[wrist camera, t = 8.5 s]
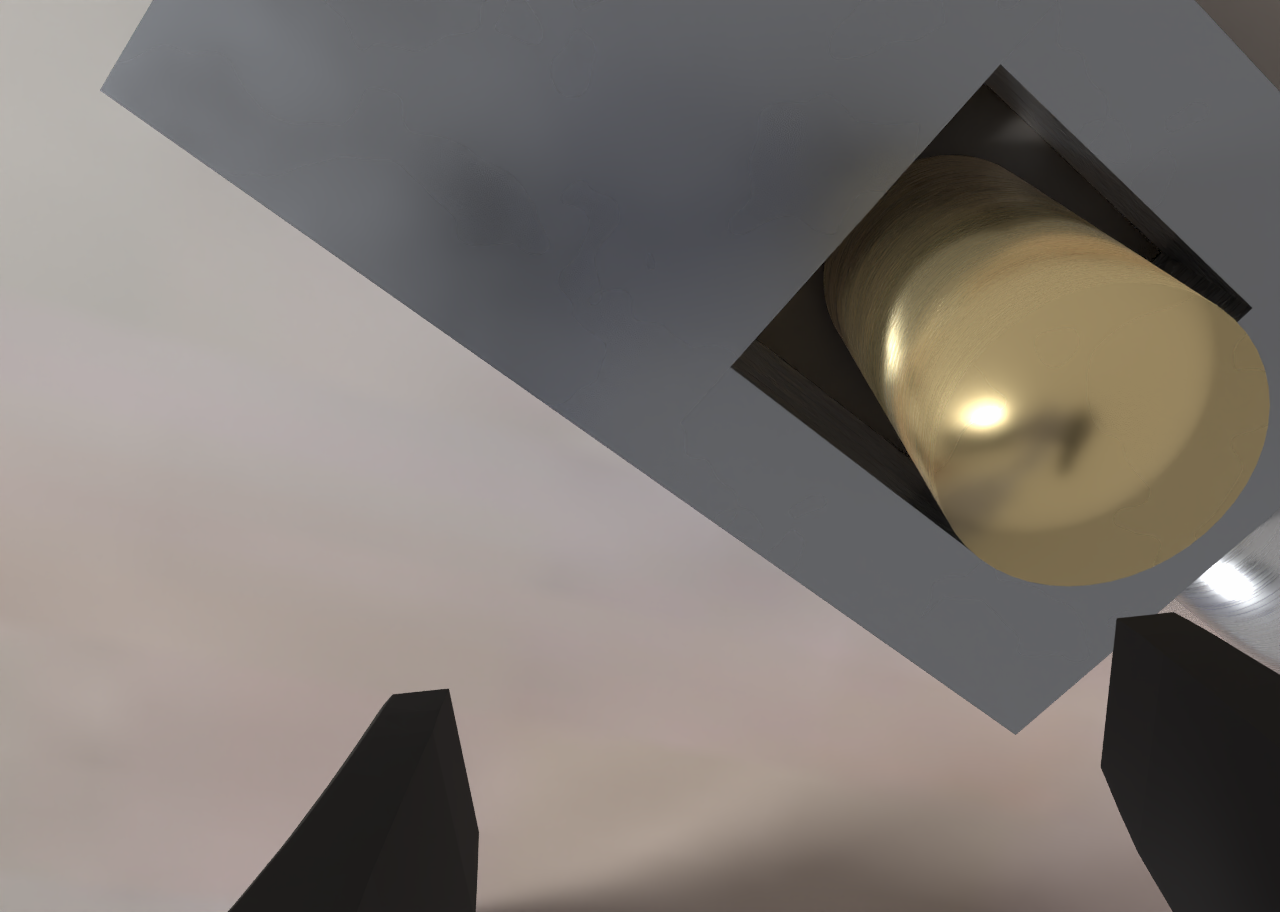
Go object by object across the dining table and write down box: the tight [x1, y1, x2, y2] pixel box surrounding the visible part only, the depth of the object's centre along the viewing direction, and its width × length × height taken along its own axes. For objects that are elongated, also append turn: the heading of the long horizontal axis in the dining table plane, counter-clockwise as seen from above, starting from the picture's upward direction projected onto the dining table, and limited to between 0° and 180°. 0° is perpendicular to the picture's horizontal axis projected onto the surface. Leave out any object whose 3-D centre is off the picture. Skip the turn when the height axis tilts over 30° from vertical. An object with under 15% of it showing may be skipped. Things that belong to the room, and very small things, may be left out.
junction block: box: [100, 0, 1280, 735], centre depth 18 cm, size 30×10×3 cm, turn 51°
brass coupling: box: [824, 155, 1270, 586], centre depth 17 cm, size 4×4×7 cm
